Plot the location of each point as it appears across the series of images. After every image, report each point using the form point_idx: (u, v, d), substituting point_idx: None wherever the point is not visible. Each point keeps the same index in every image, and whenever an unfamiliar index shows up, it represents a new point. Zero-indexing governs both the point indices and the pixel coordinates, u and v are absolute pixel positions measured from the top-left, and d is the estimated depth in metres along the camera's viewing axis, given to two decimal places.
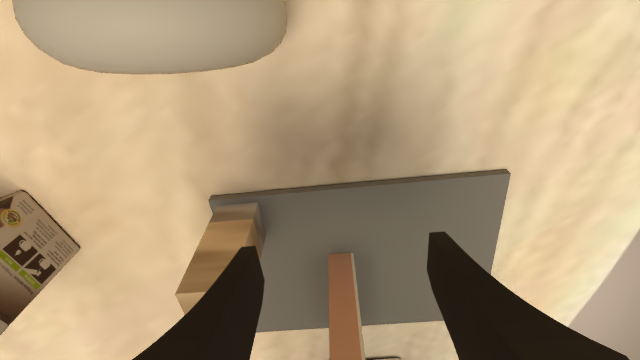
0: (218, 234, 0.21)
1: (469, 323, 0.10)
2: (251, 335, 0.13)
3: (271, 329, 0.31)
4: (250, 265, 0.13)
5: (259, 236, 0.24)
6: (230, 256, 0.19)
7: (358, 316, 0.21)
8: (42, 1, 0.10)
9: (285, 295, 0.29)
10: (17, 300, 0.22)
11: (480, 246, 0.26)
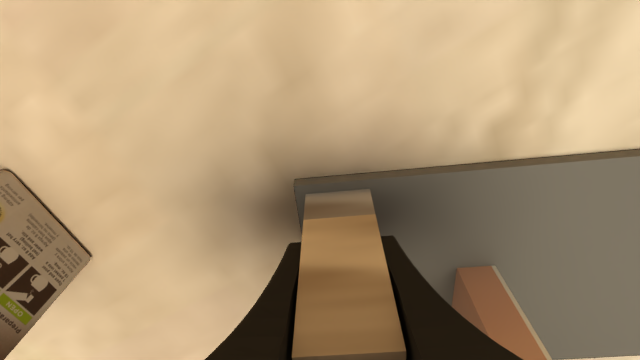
0: (327, 239, 0.13)
1: (401, 327, 0.10)
2: None
3: None
4: None
5: None
6: (369, 278, 0.11)
7: None
8: None
9: None
10: None
11: None
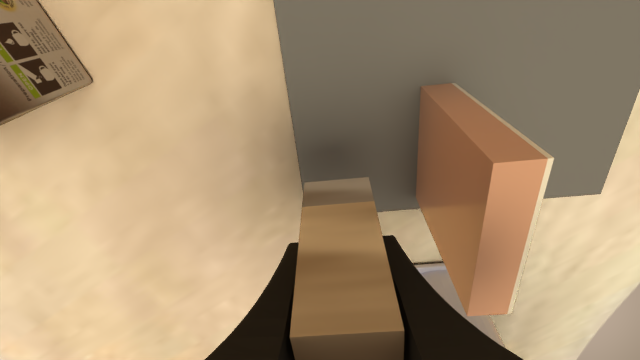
0: (325, 224, 0.13)
1: None
2: None
3: None
4: None
5: None
6: (367, 261, 0.11)
7: (496, 116, 0.15)
8: None
9: (355, 156, 0.23)
10: (8, 97, 0.15)
11: (625, 71, 0.20)
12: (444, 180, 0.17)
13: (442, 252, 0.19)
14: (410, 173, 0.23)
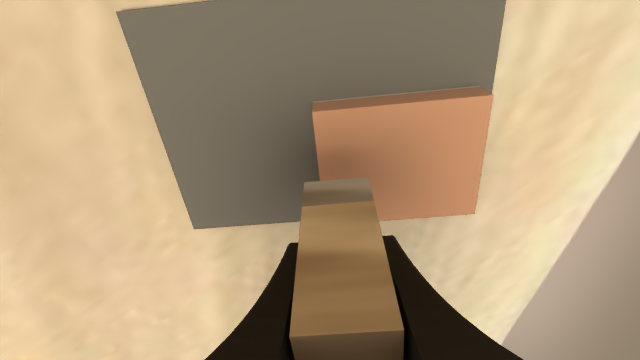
0: (325, 224, 0.13)
1: None
2: None
3: (217, 225, 0.26)
4: None
5: None
6: (367, 261, 0.11)
7: (409, 93, 0.20)
8: None
9: (229, 171, 0.23)
10: None
11: None
12: (408, 157, 0.20)
13: (417, 213, 0.22)
14: (285, 187, 0.24)
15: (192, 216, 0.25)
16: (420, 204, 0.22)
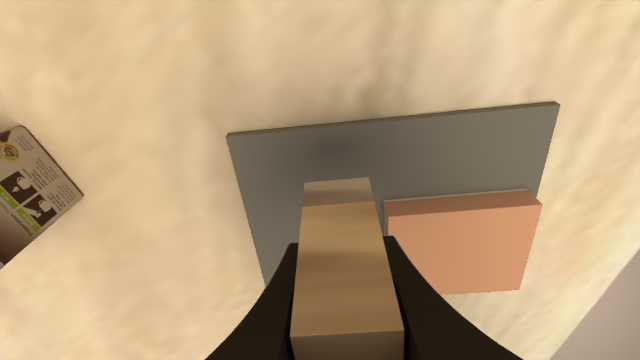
0: (325, 224, 0.13)
1: None
2: None
3: None
4: None
5: None
6: (367, 261, 0.11)
7: (467, 194, 0.24)
8: None
9: None
10: (14, 239, 0.20)
11: None
12: (466, 248, 0.24)
13: (469, 289, 0.26)
14: None
15: None
16: (472, 283, 0.26)
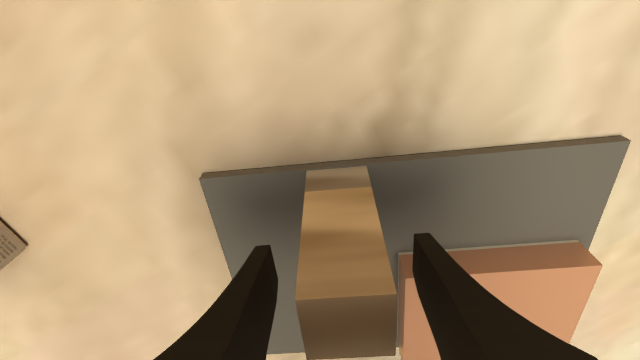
0: (326, 207, 0.14)
1: (449, 324, 0.10)
2: (267, 334, 0.13)
3: (282, 351, 0.24)
4: (266, 264, 0.13)
5: None
6: (364, 238, 0.12)
7: (502, 246, 0.19)
8: None
9: None
10: None
11: None
12: None
13: None
14: None
15: None
16: None
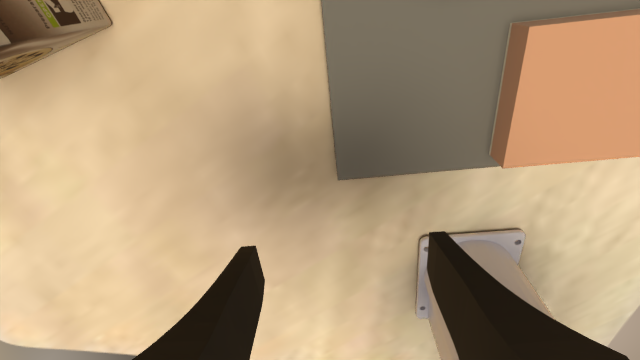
0: None
1: (469, 323, 0.10)
2: (251, 335, 0.13)
3: (364, 175, 0.23)
4: (250, 265, 0.13)
5: None
6: None
7: (624, 10, 0.18)
8: None
9: (394, 110, 0.21)
10: (25, 20, 0.14)
11: None
12: (622, 83, 0.18)
13: (610, 153, 0.20)
14: (451, 129, 0.22)
15: (339, 165, 0.23)
16: (617, 142, 0.20)
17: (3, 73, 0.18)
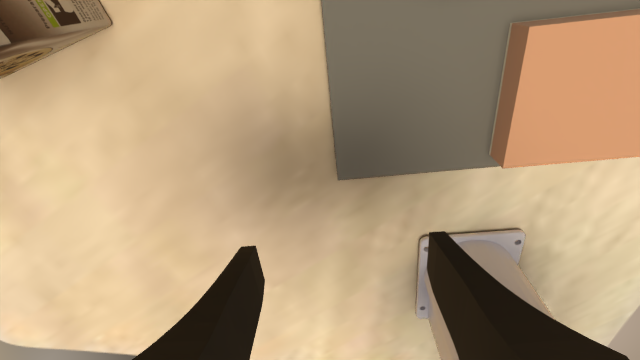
0: None
1: (469, 323, 0.10)
2: (251, 335, 0.13)
3: (364, 175, 0.23)
4: (250, 265, 0.13)
5: None
6: None
7: (624, 10, 0.18)
8: None
9: (394, 110, 0.21)
10: (25, 20, 0.14)
11: None
12: (622, 83, 0.18)
13: (610, 153, 0.20)
14: (452, 129, 0.22)
15: (339, 165, 0.23)
16: (617, 142, 0.20)
17: (3, 73, 0.18)
